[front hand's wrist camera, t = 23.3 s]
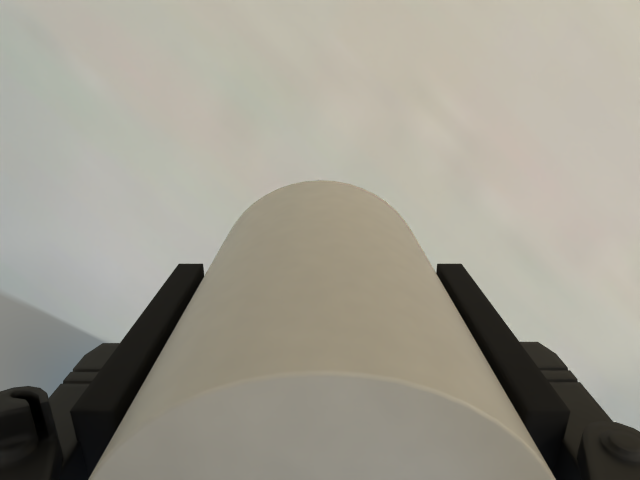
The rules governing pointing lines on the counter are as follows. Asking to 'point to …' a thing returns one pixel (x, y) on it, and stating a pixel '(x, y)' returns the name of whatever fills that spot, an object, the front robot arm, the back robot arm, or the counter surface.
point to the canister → (321, 361)
